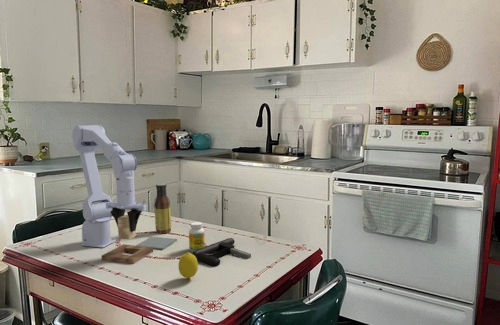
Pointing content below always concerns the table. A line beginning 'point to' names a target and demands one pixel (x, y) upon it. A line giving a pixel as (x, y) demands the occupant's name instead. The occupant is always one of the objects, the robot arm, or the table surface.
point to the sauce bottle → (162, 210)
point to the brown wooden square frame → (118, 255)
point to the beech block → (125, 228)
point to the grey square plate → (157, 242)
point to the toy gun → (223, 250)
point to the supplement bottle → (196, 236)
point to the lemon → (188, 265)
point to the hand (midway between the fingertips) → (127, 230)
